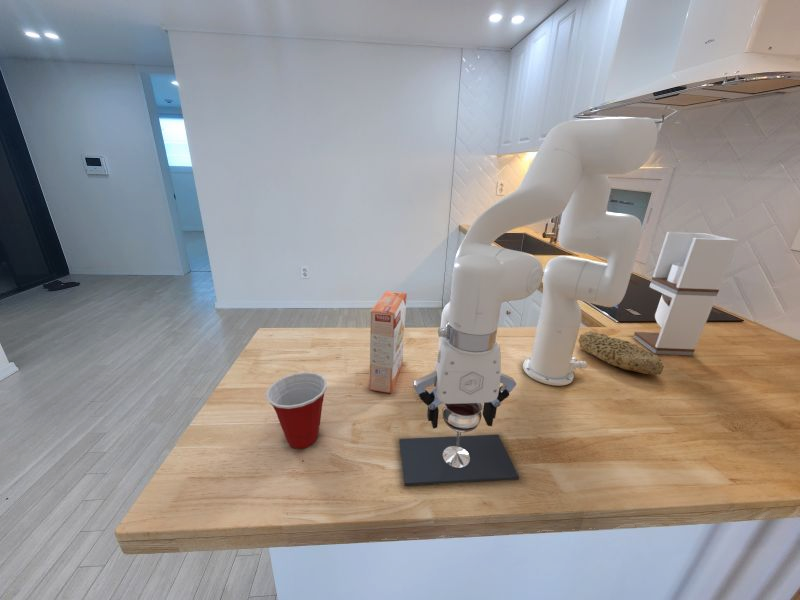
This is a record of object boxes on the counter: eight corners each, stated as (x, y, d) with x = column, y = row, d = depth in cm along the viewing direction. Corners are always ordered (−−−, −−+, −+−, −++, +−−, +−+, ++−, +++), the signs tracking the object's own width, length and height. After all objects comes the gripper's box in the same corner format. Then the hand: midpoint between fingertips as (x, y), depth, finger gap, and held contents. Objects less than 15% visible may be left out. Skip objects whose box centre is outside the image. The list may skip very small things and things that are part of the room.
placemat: (497, 436, 68) (498, 434, 67) (518, 479, 58) (519, 476, 58) (399, 441, 66) (399, 438, 65) (404, 486, 56) (404, 483, 56)
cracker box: (393, 394, 79) (395, 313, 71) (368, 390, 80) (368, 310, 72) (404, 363, 92) (407, 291, 84) (383, 360, 93) (384, 289, 85)
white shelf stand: (667, 338, 111) (705, 233, 99) (692, 355, 102) (739, 240, 89) (633, 337, 112) (667, 231, 99) (655, 353, 102) (696, 238, 89)
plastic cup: (296, 412, 72) (291, 364, 68) (340, 427, 69) (338, 377, 64) (259, 448, 63) (251, 395, 58) (308, 467, 59) (303, 412, 55)
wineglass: (482, 457, 62) (490, 404, 57) (460, 478, 57) (467, 422, 53) (452, 437, 66) (458, 386, 62) (430, 455, 62) (434, 402, 57)
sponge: (571, 353, 103) (632, 377, 84) (577, 328, 102) (639, 347, 83) (604, 355, 107) (669, 380, 88) (610, 332, 106) (677, 351, 87)
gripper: (420, 347, 48) (414, 440, 55) (534, 345, 50) (516, 435, 56) (413, 325, 55) (409, 409, 61) (514, 323, 57) (500, 405, 63)
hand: (460, 421), depth 59 cm, fingers open, 9 cm apart
